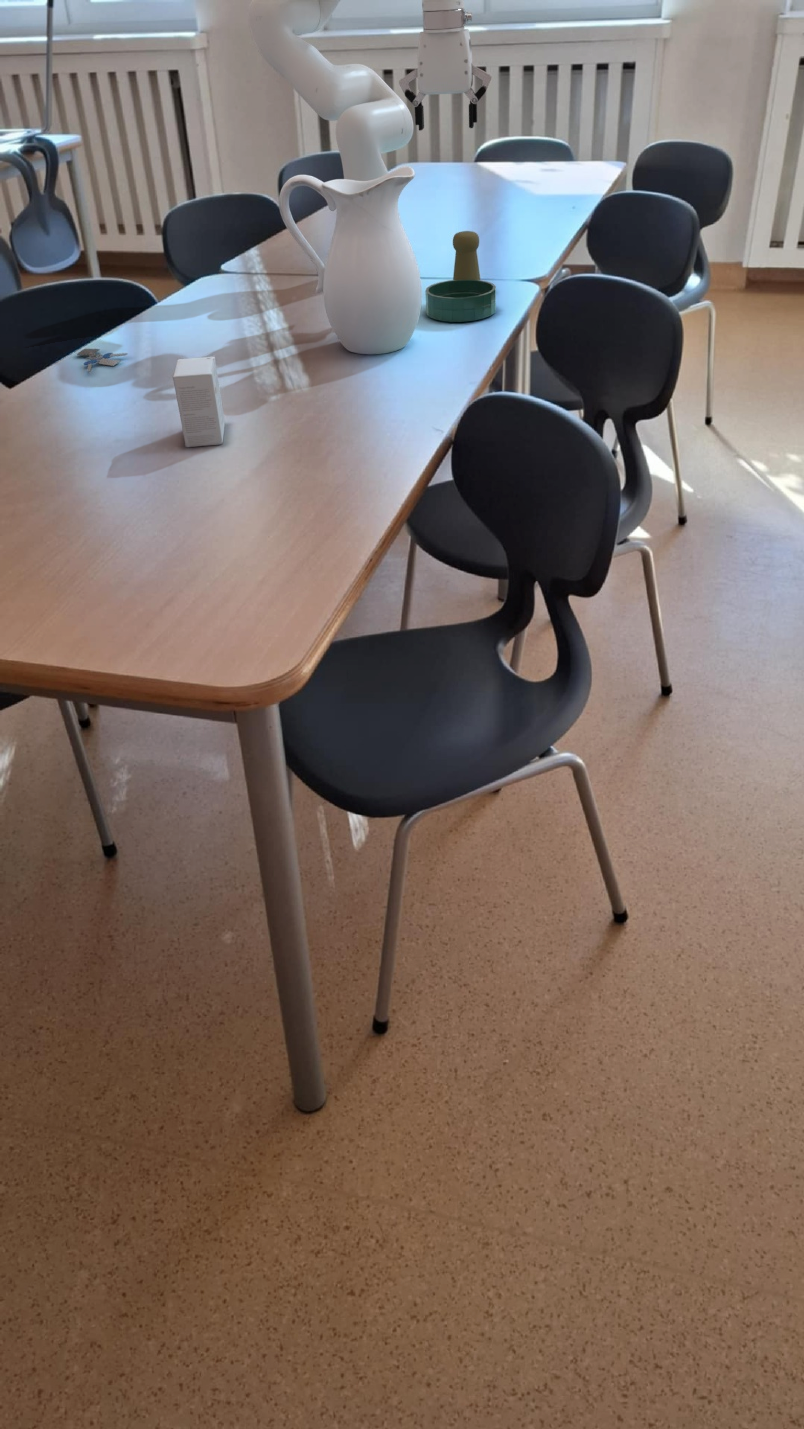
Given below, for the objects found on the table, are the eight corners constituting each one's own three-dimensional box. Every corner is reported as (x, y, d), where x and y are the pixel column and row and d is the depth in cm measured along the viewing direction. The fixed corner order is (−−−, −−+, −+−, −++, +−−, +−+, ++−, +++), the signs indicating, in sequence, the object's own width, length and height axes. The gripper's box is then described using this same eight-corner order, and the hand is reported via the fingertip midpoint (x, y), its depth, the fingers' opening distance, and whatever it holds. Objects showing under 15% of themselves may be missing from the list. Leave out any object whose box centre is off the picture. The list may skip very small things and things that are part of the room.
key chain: (74, 353, 194) (73, 348, 194) (119, 345, 197) (118, 341, 196) (87, 374, 184) (86, 370, 183) (134, 366, 186) (134, 361, 186)
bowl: (423, 324, 198) (422, 299, 195) (430, 304, 208) (429, 280, 206) (493, 322, 196) (493, 297, 193) (497, 302, 206) (497, 278, 204)
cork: (479, 295, 210) (479, 235, 203) (449, 295, 211) (447, 235, 204) (484, 286, 214) (483, 228, 208) (454, 287, 215) (453, 228, 209)
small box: (189, 428, 161) (176, 358, 155) (226, 425, 161) (215, 355, 155) (184, 448, 155) (171, 376, 148) (223, 445, 155) (211, 373, 149)
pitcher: (436, 333, 193) (429, 162, 176) (405, 362, 180) (395, 182, 164) (315, 327, 200) (298, 162, 184) (277, 355, 187) (256, 181, 171)
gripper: (492, 18, 195) (492, 123, 205) (399, 23, 198) (404, 127, 208) (489, 20, 189) (490, 129, 199) (393, 26, 192) (399, 133, 202)
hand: (446, 128), depth 203 cm, fingers open, 9 cm apart
